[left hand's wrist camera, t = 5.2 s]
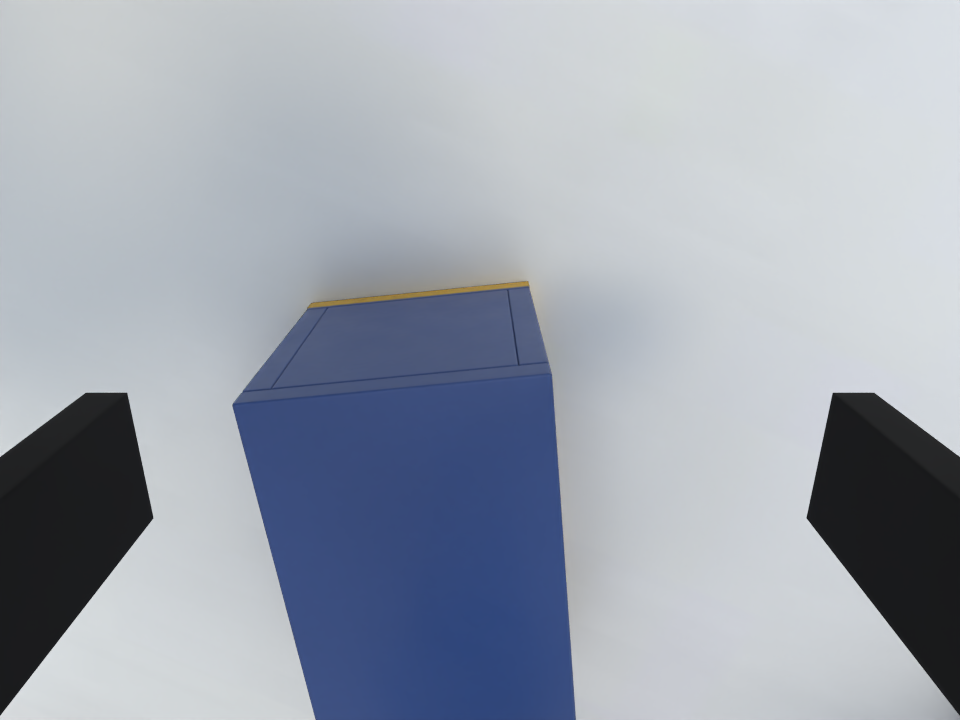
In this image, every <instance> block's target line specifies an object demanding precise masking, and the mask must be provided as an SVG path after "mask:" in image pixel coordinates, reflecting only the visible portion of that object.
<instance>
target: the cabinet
mask: <svg viewBox="0 0 960 720" xmlns="http://www.w3.org/2000/svg"><path fill="white" fill-rule="evenodd" d="M233 410H234V413H235V417H236V421H237V425H238V429H239V432H240V436H241V440H242V444H243V447H244V451H245V455H246V459H247V462H248V466H249V470H250V474H251V478H252V481H253V485H254V489H255V493H256V496H257V500H258V504H259V508H260V511H261V515H262V519H263V523H264V527H265V530H266V534H267V538H268V542H269V545H270V549H271V553H272V557H273V560H274V564H275V568H276V572H277V576H278V579H279V583H280V587H281V591H282V594H283V598H284V602H285V606H286V609H287V613H288V617H289V621H290V625H291V628H292V632H293V636H294V640H295V643H296V647H297V651H298V655H299V658H300V662H301V666H302V670H303V674H304V677H305V681H306V685H307V689H308V692H309V696H310V700H311V704H312V707H313V711H314V715H315V719H316V720H576V715H575V701H574V686H573V672H572V657H571V643H570V628H569V614H568V599H567V585H566V570H565V556H564V541H563V527H562V513H561V498H560V484H559V469H558V455H557V440H556V426H555V411H554V397H553V382H552V373H551V369H550V366H549V362H548V358H547V354H546V350H545V346H544V342H543V339H542V335H541V331H540V327H539V323H538V319H537V316H536V312H535V308H534V304H533V300H532V296H531V293H530V289H529V283H528V281H525V282H515V283H505V284H496V285H486V286H476V287H466V288H456V289H446V290H436V291H426V292H416V293H406V294H396V295H386V296H376V297H367V298H357V299H347V300H337V301H327V302H317V303H311V304H310V305H309V307H308V308H307V310H306V312H305V313H304V314H303V316H302V317H301V318H300V319H299V321H298V322H297V323H296V324H295V326H294V327H293V328H292V329H291V331H290V332H289V333H288V335H287V336H286V337H285V338H284V340H283V341H282V342H281V343H280V345H279V346H278V347H277V348H276V350H275V351H274V352H273V354H272V355H271V356H270V357H269V359H268V360H267V361H266V362H265V364H264V365H263V366H262V367H261V369H260V370H259V371H258V372H257V374H256V375H255V376H254V378H253V379H252V380H251V381H250V383H249V384H248V385H247V386H246V388H245V389H244V390H243V393H241V394H240V395H239V397H238V398H237V399H236V401H235V402H234V403H233Z"/></svg>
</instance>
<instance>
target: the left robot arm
mask: <svg viewBox="0 0 960 720" xmlns="http://www.w3.org/2000/svg"><path fill="white" fill-rule="evenodd" d="M152 519H153V514H152V509H151V504H150V500H149V495H148V490H147V485H146V481H145V476H144V471H143V466H142V461H141V457H140V452H139V447H138V442H137V438H136V433H135V428H134V423H133V419H132V414H131V409H130V404H129V399H128V395H127V393H85V394H84V395H82V396H81V397H80V398H78V399H77V400H76V401H74V402H73V403H72V404H70V405H69V406H68V407H66V408H65V409H64V410H62V411H61V412H60V413H58V414H57V415H56V416H54V417H53V418H52V419H50V420H49V421H48V422H46V423H45V424H44V425H42V426H41V427H40V428H38V429H37V430H36V431H34V432H33V433H32V434H30V435H29V436H28V437H26V438H25V439H24V440H22V441H21V442H20V443H18V444H17V445H16V446H14V447H13V448H12V449H10V450H9V451H8V452H6V453H5V454H4V455H2V456H1V457H0V715H1V714H2V713H3V711H4V710H5V709H6V707H7V706H8V705H9V704H10V702H11V701H12V700H13V698H14V697H15V696H16V695H17V693H18V692H19V691H20V689H21V688H22V687H23V686H24V684H25V683H26V682H27V680H28V679H29V678H30V677H31V675H32V674H33V673H34V671H35V670H36V669H37V667H38V666H39V665H40V664H41V662H42V661H43V660H44V658H45V657H46V656H47V655H48V653H49V652H50V651H51V649H52V648H53V647H54V646H55V644H56V643H57V642H58V640H59V639H60V638H61V637H62V635H63V634H64V633H65V631H66V630H67V629H68V628H69V626H70V625H71V624H72V622H73V621H74V620H75V619H76V617H77V616H78V615H79V613H80V612H81V611H82V610H83V608H84V607H85V606H86V604H87V603H88V602H89V600H90V599H91V598H92V597H93V595H94V594H95V593H96V591H97V590H98V589H99V588H100V586H101V585H102V584H103V582H104V581H105V580H106V579H107V577H108V576H109V575H110V573H111V572H112V571H113V570H114V568H115V567H116V566H117V564H118V563H119V562H120V561H121V559H122V558H123V557H124V555H125V554H126V553H127V552H128V550H129V549H130V548H131V546H132V545H133V544H134V543H135V541H136V540H137V539H138V537H139V536H140V535H141V534H142V532H143V531H144V530H145V528H146V527H147V526H148V524H149V523H150V522H151V521H152ZM807 519H808V521H809V522H810V523H811V524H812V526H813V527H814V528H815V530H816V531H817V532H818V534H819V535H820V536H821V537H822V539H823V540H824V541H825V543H826V544H827V545H828V546H829V548H830V549H831V550H832V552H833V553H834V554H835V555H836V557H837V558H838V559H839V561H840V562H841V563H842V564H843V566H844V567H845V568H846V570H847V571H848V572H849V573H850V575H851V576H852V577H853V579H854V580H855V581H856V582H857V584H858V585H859V586H860V588H861V589H862V590H863V591H864V593H865V594H866V595H867V597H868V598H869V599H870V601H871V602H872V603H873V604H874V606H875V607H876V608H877V610H878V611H879V612H880V613H881V615H882V616H883V617H884V619H885V620H886V621H887V622H888V624H889V625H890V626H891V628H892V629H893V630H894V631H895V633H896V634H897V635H898V637H899V638H900V639H901V640H902V642H903V643H904V644H905V646H906V647H907V648H908V649H909V651H910V652H911V653H912V655H913V656H914V657H915V658H916V660H917V661H918V662H919V664H920V665H921V666H922V667H923V669H924V670H925V671H926V673H927V674H928V675H929V677H930V678H931V679H932V680H933V682H934V683H935V684H936V686H937V687H938V688H939V689H940V691H941V692H942V693H943V695H944V696H945V697H946V698H947V700H948V701H949V702H950V704H951V705H952V706H953V707H954V709H955V710H956V711H957V713H958V714H959V715H960V457H959V456H958V455H956V454H955V453H954V452H952V451H951V450H950V449H948V448H947V447H946V446H944V445H943V444H942V443H940V442H939V441H938V440H936V439H935V438H934V437H932V436H931V435H930V434H928V433H927V432H926V431H924V430H923V429H922V428H920V427H919V426H918V425H916V424H915V423H914V422H912V421H911V420H910V419H908V418H907V417H906V416H904V415H903V414H902V413H900V412H899V411H898V410H896V409H895V408H894V407H892V406H891V405H890V404H888V403H887V402H886V401H884V400H883V399H882V398H880V397H879V396H878V395H876V394H875V393H833V395H832V399H831V404H830V409H829V414H828V418H827V423H826V428H825V433H824V438H823V442H822V447H821V452H820V457H819V461H818V466H817V471H816V476H815V481H814V485H813V490H812V495H811V500H810V504H809V509H808V514H807Z"/></svg>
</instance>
